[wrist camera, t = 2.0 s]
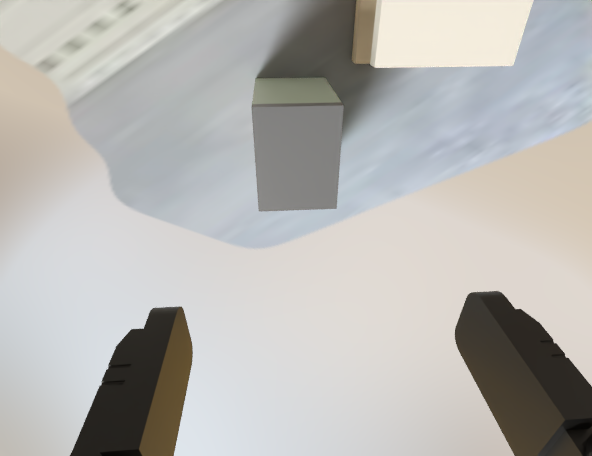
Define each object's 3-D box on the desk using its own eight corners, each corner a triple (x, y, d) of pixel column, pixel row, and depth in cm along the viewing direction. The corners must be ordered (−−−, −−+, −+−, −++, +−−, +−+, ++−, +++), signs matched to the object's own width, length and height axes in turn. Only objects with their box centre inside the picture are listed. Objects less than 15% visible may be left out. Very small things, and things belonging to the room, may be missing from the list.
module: (260, 163, 27) (258, 211, 21) (255, 78, 23) (251, 107, 18) (321, 161, 27) (336, 208, 21) (324, 77, 24) (343, 105, 18)
